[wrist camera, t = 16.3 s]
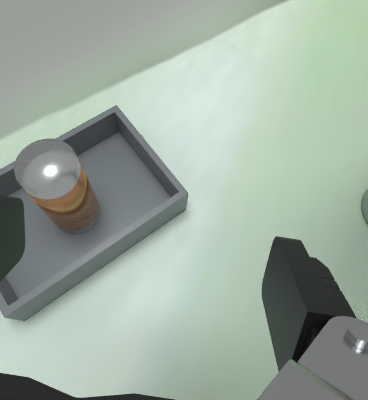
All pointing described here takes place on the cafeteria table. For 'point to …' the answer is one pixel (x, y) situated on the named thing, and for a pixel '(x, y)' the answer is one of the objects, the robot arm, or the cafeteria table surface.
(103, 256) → the gray tray
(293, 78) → the cafeteria table surface
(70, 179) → the tin can
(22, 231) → the robot arm
